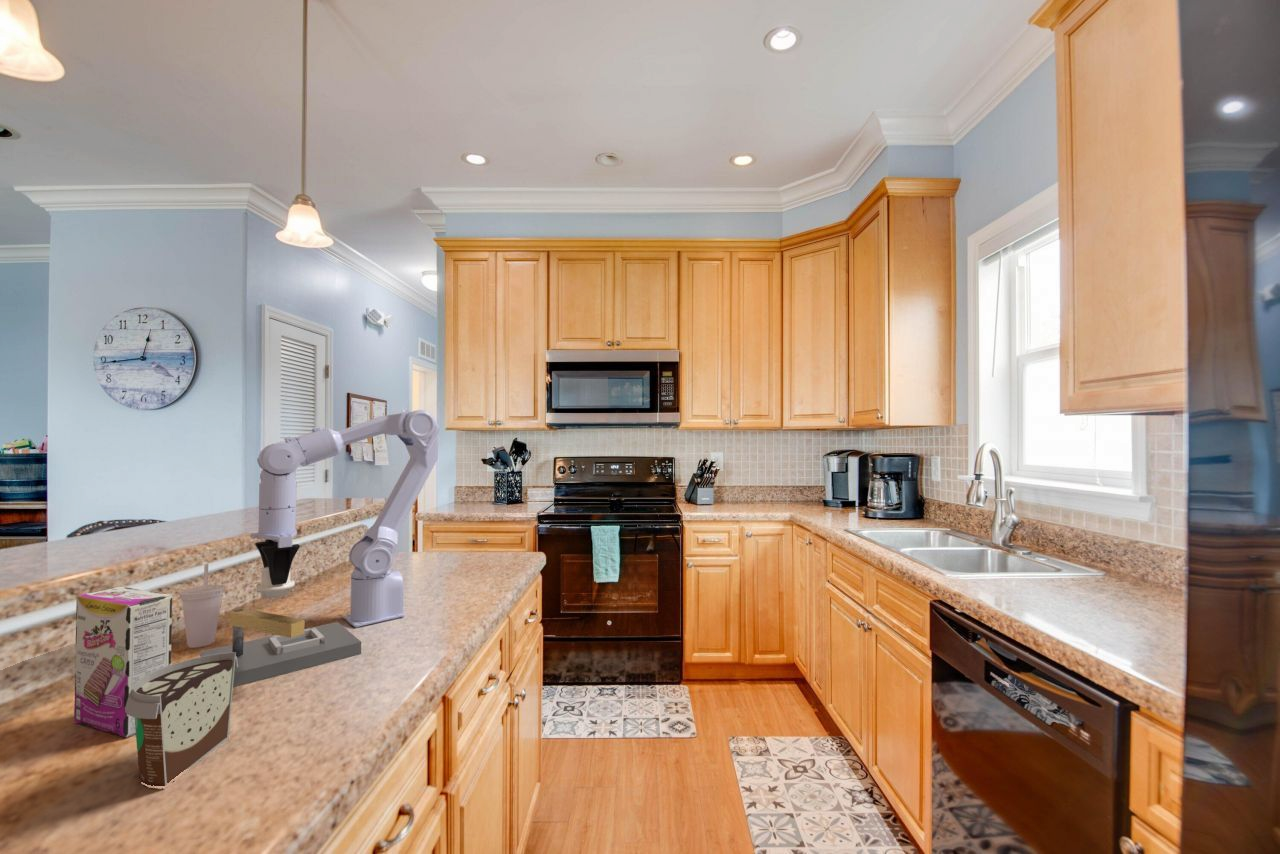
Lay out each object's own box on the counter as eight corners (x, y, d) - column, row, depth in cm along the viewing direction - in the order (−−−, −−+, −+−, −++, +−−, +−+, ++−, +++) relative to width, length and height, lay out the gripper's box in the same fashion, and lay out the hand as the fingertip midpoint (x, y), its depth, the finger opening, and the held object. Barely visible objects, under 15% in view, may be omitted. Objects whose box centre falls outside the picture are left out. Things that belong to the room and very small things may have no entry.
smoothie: (233, 637, 96) (235, 561, 97) (200, 651, 90) (202, 569, 90) (201, 636, 97) (204, 560, 97) (167, 650, 91) (169, 568, 91)
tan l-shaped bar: (303, 667, 78) (304, 620, 79) (290, 672, 76) (291, 624, 77) (241, 652, 84) (242, 608, 84) (227, 656, 82) (228, 611, 82)
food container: (184, 734, 64) (186, 652, 65) (236, 731, 65) (238, 650, 65) (87, 802, 52) (90, 701, 52) (153, 798, 53) (155, 698, 53)
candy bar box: (69, 724, 67) (73, 595, 67) (119, 706, 71) (122, 585, 72) (123, 740, 63) (127, 603, 64) (172, 720, 68) (175, 592, 68)
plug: (290, 588, 100) (291, 562, 101) (297, 594, 96) (298, 567, 96) (253, 594, 96) (254, 567, 97) (259, 601, 92) (259, 572, 92)
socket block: (337, 632, 99) (337, 616, 99) (361, 653, 89) (361, 635, 89) (200, 663, 85) (200, 645, 85) (209, 693, 75) (210, 672, 75)
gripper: (244, 506, 99) (243, 578, 99) (258, 513, 89) (256, 593, 89) (288, 503, 104) (287, 571, 104) (306, 509, 94) (305, 585, 93)
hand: (276, 581), depth 97 cm, fingers closed on plug, 4 cm apart
